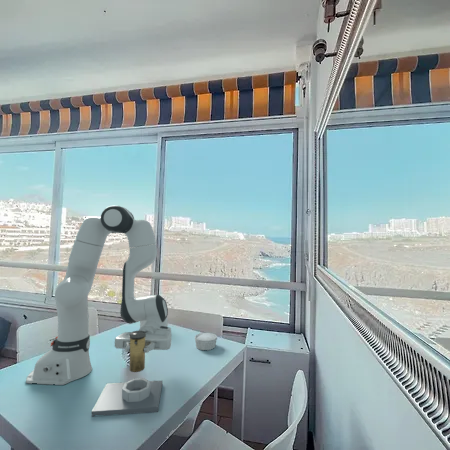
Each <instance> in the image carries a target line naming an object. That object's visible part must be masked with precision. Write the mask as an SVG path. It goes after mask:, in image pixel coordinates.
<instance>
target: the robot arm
mask: <svg viewBox="0 0 450 450" xmlns="http://www.w3.org/2000/svg"><path fill="white" fill-rule="evenodd" d="M79 227H80V228H79V229H78V232H77V234H76V236H75V238H74V239H75V240H74V243H73V245H72V248H71V251H70V254H69V257H68V264H67V268H66V273H65V276H64V279H63V280H62V281H60V282H59V283H58V285H57V286H56V288H55V291H54V298H55V305H56V307H55V308H56V314H57V336H56V337H54V338H55V339H53V340H52V342H51V343H50V347H51V349H49V350H48V351H47V352H45V354H43V355H42V356H41V357H39V358H38V360H37V361H36V363H35V364H34V368H33V370H31V372H29V374H28V375H27V376H26V378H25V379H26V380H25V383H26V384H32V383H37V384H36V385H53V384H55V386H56V385H57V386H62V385H66V384H68V383H71V382H73V381H76V380H79V379H81V378H84V377H85V376H87V375H88V374H89V375H90V373H91V372H92V370H93V367H92V364H91V358H90V346H91V338H90V333H89V332H90V330H89V329H90V328H89V327H90V313H89V301H88V300H89V298H88V296H89V293H91V292H90V291H91V290H92V288H93V287H92V286H93V283H94V279H95V276H96V273H97V269H98V266H99V262H100V259H101V255H102V252H103V249H104V247H105V246H104V245H105V244H106V243H105V242H106V240H107V238H108V236H109V235H110V234H124V235H125V236H126V238H127V241H128V246H129V247H128V248H129V255H128V259H127V260H126V261H125V262H124V264H123V268H122V282H121V285H122V286H121V287H122V288H121V304H120V311H119V313H120V318H121V319H122V320H123V321H124V322H125V323H126V324H127V325H131V324H135V323H139V322H140V321H145V320H147V322H146V323H145V324H144V325H143V326H142V327H141V328H140V327H139V329H137V331H145V332H146V336H145V347H144V353H145V354H149V353H150V351H153V350H156V351H157V350H158V351H168V350H171V347H172V328H171V327H169V320H168V315H169V310H168V304H167V301H166V299H165V298H163V297H162V296H161V295H160V294H153V295H152V294H151V295H152V296H150V295H147V296H141V297H140V296H139V297H135V278H136V276H137V274H138V273H139V272H141V271H142V270H144V269H146V268H148V267H149V266H151V265H152V264H153V263H154V262H155V260H156V258H157V257H158V248H157V241H156V236H155V233H154V229H153V227H152V224H151V223H150V221H147V220H145V219H139V220H138V219H135V217H134V214H133V213H132V212H131V211H130V210H129V209H127V208H125V207H123V206H120V205H109V206H107V207H106V208H104V209H103V211H102V212H101V214H100V216H99V217H98V216H87V217H86V218H84V220H83V221H82V223H81V225H80V226H79ZM131 332H132V331H125V332H122V333H121V334H119V335H117V336H115V338H114V347H115V349H118V350H119V349H122V350H124V349H125V351H124V352H126V353H130V337H129V335H130V333H131Z"/></svg>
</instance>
